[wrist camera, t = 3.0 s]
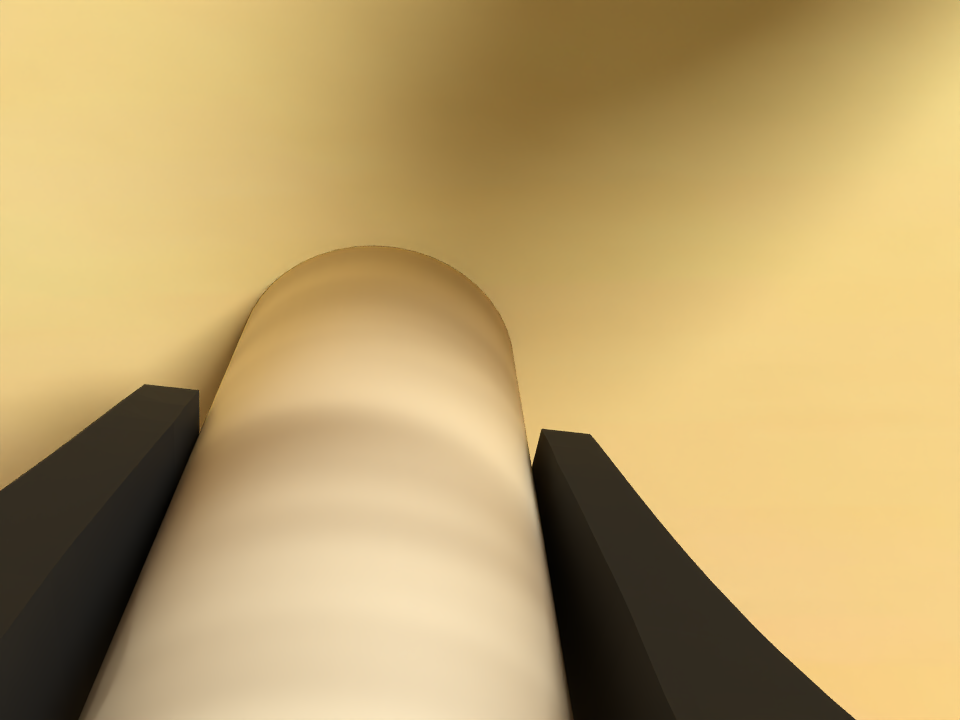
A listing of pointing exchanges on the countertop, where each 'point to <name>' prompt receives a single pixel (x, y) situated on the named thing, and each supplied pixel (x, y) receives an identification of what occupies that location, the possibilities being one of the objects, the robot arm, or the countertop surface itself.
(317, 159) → the countertop surface
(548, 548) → the robot arm
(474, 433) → the beige banded cylinder
